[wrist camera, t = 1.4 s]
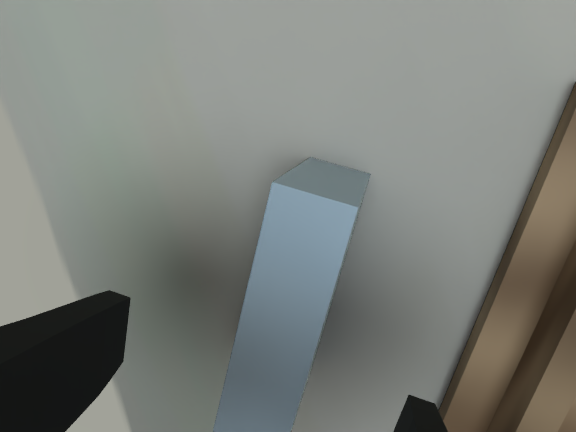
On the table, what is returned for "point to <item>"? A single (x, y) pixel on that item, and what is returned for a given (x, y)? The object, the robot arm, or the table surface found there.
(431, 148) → the table surface
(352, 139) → the table surface
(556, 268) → the rack
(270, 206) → the tile
